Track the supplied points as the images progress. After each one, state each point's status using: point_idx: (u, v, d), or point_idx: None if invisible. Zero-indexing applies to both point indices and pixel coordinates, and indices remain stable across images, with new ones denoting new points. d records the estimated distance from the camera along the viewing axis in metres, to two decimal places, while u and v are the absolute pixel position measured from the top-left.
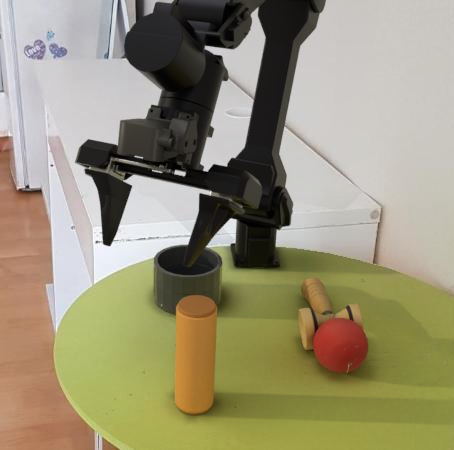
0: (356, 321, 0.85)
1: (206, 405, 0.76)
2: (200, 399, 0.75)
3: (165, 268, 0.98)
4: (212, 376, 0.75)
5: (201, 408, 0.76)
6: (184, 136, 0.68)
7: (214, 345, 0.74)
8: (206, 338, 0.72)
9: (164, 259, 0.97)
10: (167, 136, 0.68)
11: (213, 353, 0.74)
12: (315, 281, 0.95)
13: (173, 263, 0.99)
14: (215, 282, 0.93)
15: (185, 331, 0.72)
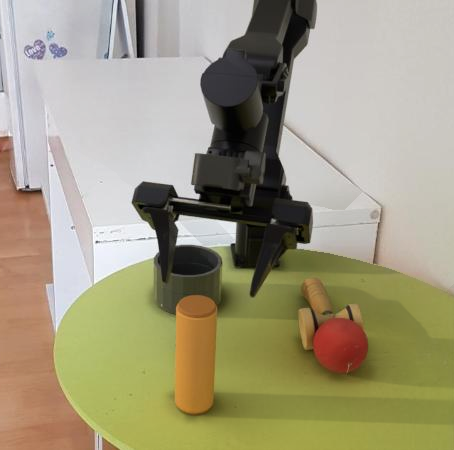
0: (356, 321, 0.85)
1: (206, 405, 0.76)
2: (200, 399, 0.75)
3: None
4: (212, 376, 0.75)
5: (201, 408, 0.76)
6: (260, 166, 0.73)
7: (214, 345, 0.74)
8: (206, 338, 0.72)
9: None
10: (245, 165, 0.72)
11: (213, 353, 0.74)
12: (315, 281, 0.95)
13: (173, 263, 0.99)
14: (215, 282, 0.93)
15: (185, 331, 0.72)
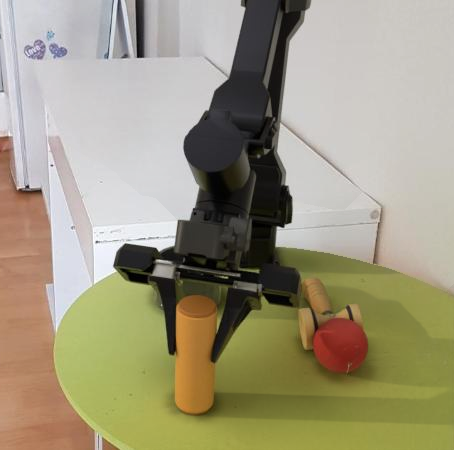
0: (356, 321, 0.85)
1: (206, 405, 0.76)
2: (200, 399, 0.75)
3: None
4: (212, 376, 0.75)
5: (201, 408, 0.76)
6: (245, 234, 0.70)
7: None
8: (206, 338, 0.72)
9: None
10: (230, 233, 0.69)
11: None
12: (315, 281, 0.95)
13: None
14: None
15: (185, 331, 0.72)
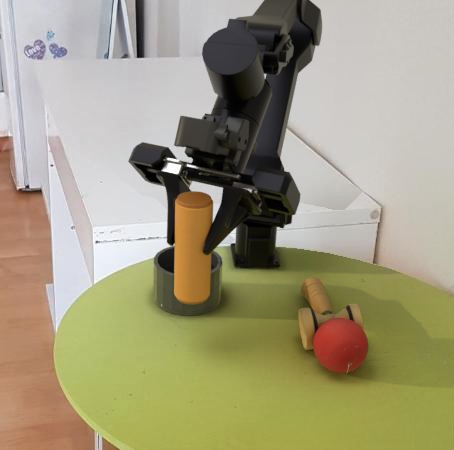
0: (356, 321, 0.85)
1: (200, 296, 0.82)
2: (193, 289, 0.81)
3: (165, 268, 0.98)
4: (206, 269, 0.81)
5: (194, 298, 0.82)
6: (238, 131, 0.75)
7: None
8: (199, 229, 0.78)
9: (164, 259, 0.97)
10: (223, 130, 0.75)
11: None
12: (315, 281, 0.95)
13: (173, 263, 0.99)
14: (215, 282, 0.93)
15: (180, 220, 0.78)
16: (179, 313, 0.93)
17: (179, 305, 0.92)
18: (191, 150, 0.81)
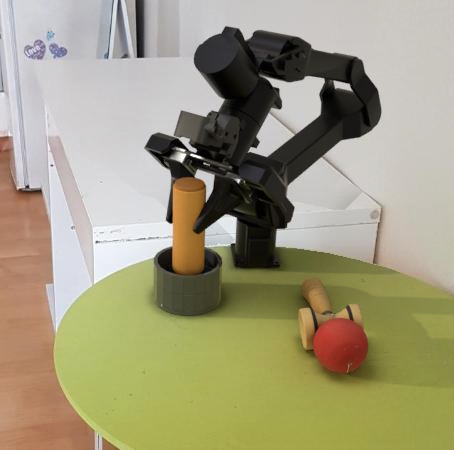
0: (356, 321, 0.85)
1: (192, 270, 0.93)
2: (186, 263, 0.92)
3: (165, 268, 0.98)
4: (198, 247, 0.92)
5: (187, 272, 0.93)
6: (226, 127, 0.85)
7: None
8: (190, 210, 0.89)
9: (164, 259, 0.97)
10: (212, 124, 0.85)
11: None
12: (315, 281, 0.95)
13: None
14: (215, 282, 0.93)
15: (175, 201, 0.90)
16: (179, 313, 0.93)
17: (179, 305, 0.92)
18: (194, 141, 0.92)
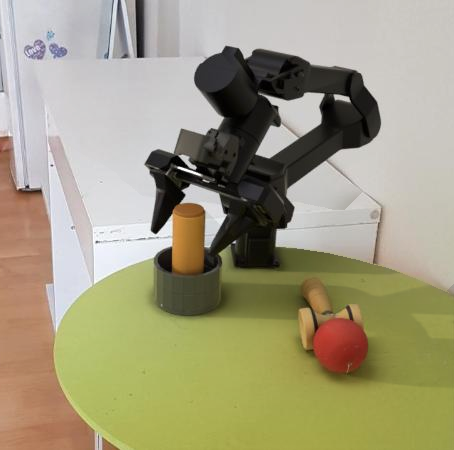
0: (356, 321, 0.85)
1: None
2: None
3: (165, 268, 0.98)
4: (197, 271, 0.93)
5: None
6: (225, 145, 0.86)
7: (199, 245, 0.92)
8: (190, 236, 0.91)
9: (164, 259, 0.97)
10: (212, 143, 0.86)
11: (198, 251, 0.92)
12: (315, 281, 0.95)
13: None
14: (215, 282, 0.93)
15: (175, 227, 0.91)
16: (179, 313, 0.93)
17: (179, 305, 0.92)
18: None
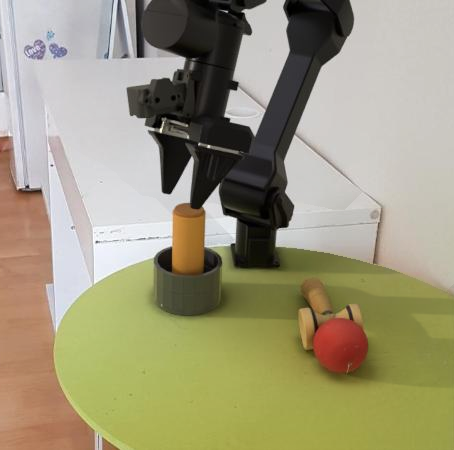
0: (356, 321, 0.85)
1: None
2: None
3: (165, 268, 0.98)
4: (197, 271, 0.93)
5: None
6: (153, 94, 0.78)
7: (199, 245, 0.92)
8: (190, 236, 0.91)
9: (164, 259, 0.97)
10: (142, 95, 0.79)
11: (198, 251, 0.92)
12: (315, 281, 0.95)
13: None
14: (215, 282, 0.93)
15: (175, 227, 0.91)
16: (179, 313, 0.93)
17: (179, 305, 0.92)
18: None
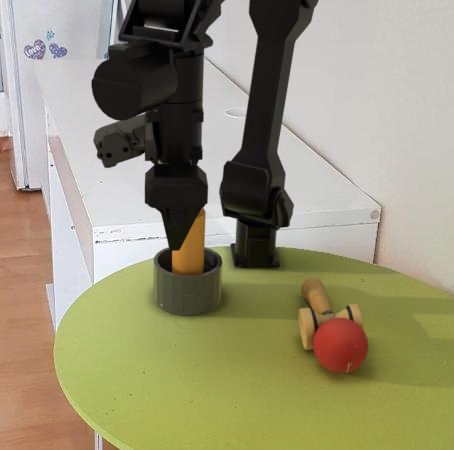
0: (356, 321, 0.85)
1: None
2: None
3: (165, 268, 0.98)
4: (197, 271, 0.93)
5: None
6: (103, 150, 0.76)
7: (199, 245, 0.92)
8: (190, 236, 0.91)
9: (164, 259, 0.97)
10: (97, 149, 0.77)
11: (198, 251, 0.92)
12: (315, 281, 0.95)
13: None
14: (215, 282, 0.93)
15: None
16: (179, 313, 0.93)
17: (179, 305, 0.92)
18: None
